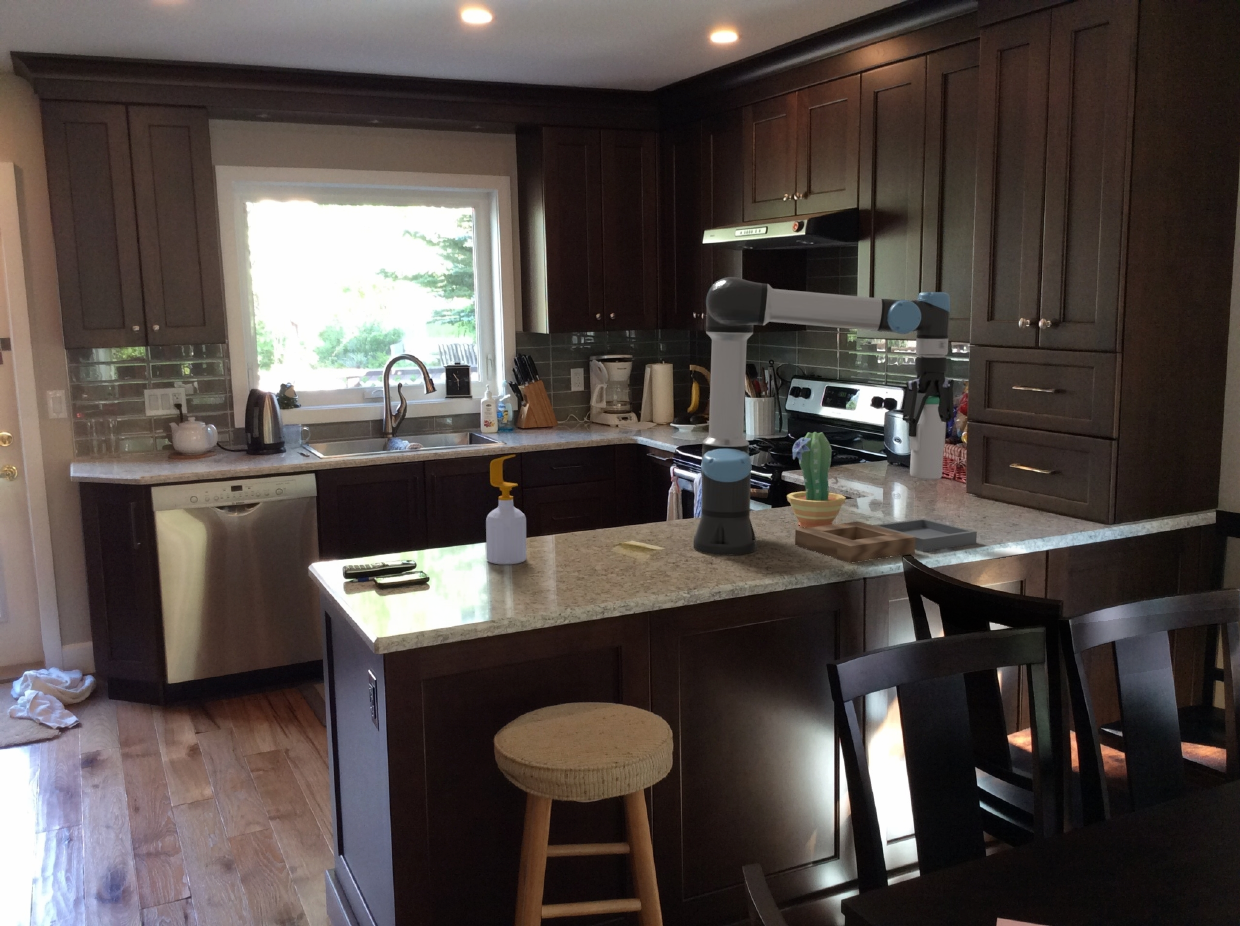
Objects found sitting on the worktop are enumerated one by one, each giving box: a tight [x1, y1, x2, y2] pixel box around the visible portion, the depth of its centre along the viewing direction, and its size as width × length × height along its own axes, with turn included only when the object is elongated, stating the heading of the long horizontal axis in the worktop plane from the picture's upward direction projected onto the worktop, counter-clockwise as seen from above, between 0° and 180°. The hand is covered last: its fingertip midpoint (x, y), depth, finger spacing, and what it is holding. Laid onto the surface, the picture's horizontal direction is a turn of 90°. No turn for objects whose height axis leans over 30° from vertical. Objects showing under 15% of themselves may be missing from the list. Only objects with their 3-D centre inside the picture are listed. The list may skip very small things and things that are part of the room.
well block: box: [794, 521, 916, 564], centre depth 254 cm, size 20×20×4 cm
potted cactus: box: [786, 431, 847, 528], centre depth 279 cm, size 15×15×25 cm
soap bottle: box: [485, 454, 527, 566], centre depth 240 cm, size 9×9×25 cm
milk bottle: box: [909, 395, 945, 480], centre depth 260 cm, size 8×8×20 cm
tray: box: [872, 518, 978, 552], centre depth 264 cm, size 18×18×3 cm
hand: (927, 448), depth 261 cm, fingers closed on milk bottle, 8 cm apart
